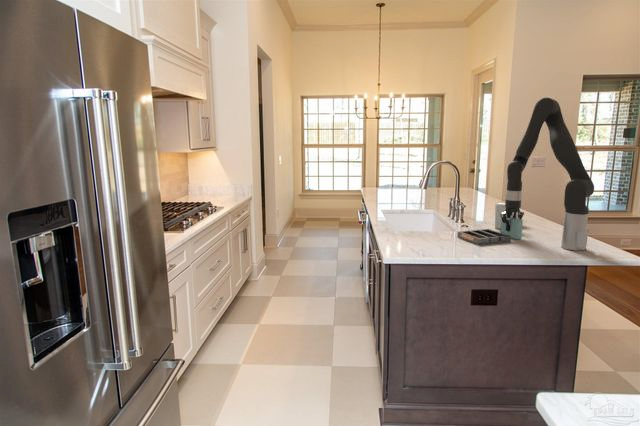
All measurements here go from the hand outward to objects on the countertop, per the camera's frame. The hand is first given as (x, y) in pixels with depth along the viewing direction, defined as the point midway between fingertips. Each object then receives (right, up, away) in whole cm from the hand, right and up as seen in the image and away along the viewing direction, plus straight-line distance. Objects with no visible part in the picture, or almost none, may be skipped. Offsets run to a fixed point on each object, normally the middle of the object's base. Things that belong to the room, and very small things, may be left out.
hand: (510, 230), depth 209 cm
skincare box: (+5, 0, +20) cm, 20 cm away
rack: (-16, -4, -4) cm, 17 cm away
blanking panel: (0, -3, +1) cm, 3 cm away
